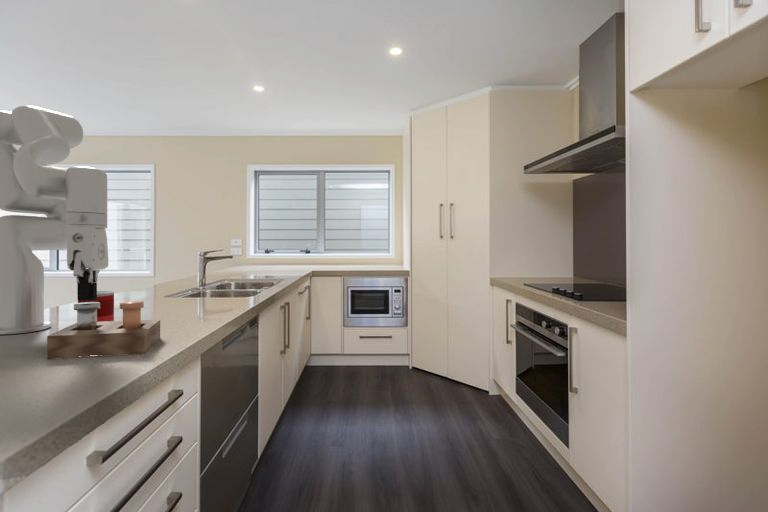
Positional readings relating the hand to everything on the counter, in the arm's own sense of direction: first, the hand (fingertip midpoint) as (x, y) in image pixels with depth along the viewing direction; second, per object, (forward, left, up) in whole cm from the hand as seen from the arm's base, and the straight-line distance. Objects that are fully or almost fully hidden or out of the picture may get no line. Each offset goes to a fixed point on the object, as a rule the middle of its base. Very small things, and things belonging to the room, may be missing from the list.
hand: (87, 299), depth 87 cm
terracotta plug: (+9, 0, -8) cm, 12 cm away
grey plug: (0, 0, -8) cm, 8 cm away
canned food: (-5, +18, -12) cm, 22 cm away
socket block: (+4, 0, -12) cm, 12 cm away
